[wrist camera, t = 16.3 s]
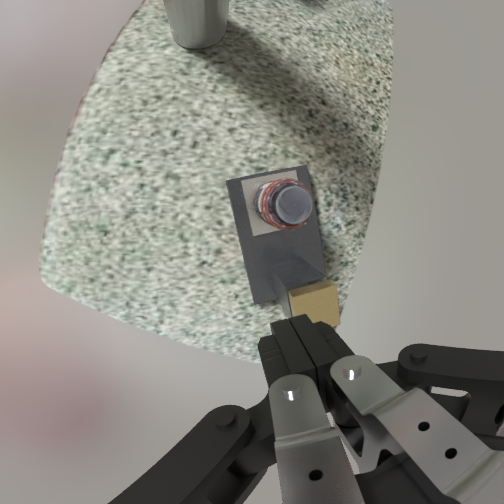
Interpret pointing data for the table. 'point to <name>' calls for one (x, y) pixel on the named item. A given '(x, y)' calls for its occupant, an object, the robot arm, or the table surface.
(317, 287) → the plunger
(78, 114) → the table surface
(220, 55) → the table surface
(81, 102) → the table surface
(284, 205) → the supplement bottle
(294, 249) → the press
